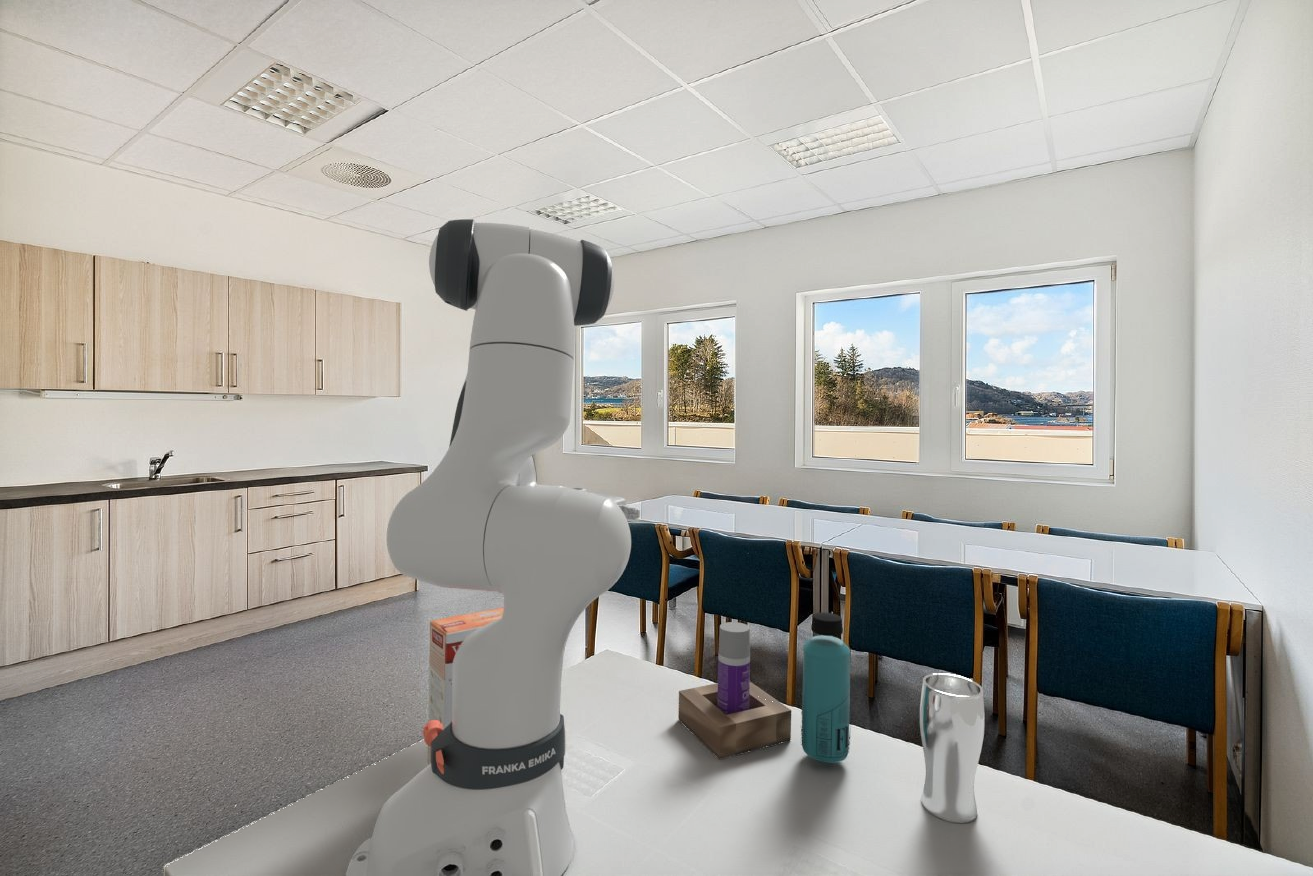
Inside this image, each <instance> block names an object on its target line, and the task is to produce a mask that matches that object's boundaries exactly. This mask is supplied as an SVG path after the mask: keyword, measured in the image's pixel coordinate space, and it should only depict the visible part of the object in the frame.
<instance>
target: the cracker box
mask: <svg viewBox="0 0 1313 876" xmlns="http://www.w3.org/2000/svg"><path fill="white" fill-rule="evenodd" d="M503 610H504V606H502V607H498V608H492V609H487V610H482V611H476V612H470V613H466V614H460V615H454V616H449V617H444V618H438V619H434V620H431V621H429V663H428V664H429V665H428V666H429V668H428V670H429V671H428V672H429V673H428V678H429V679H428V722H429V721H432V720H438V721H440V723H442V726H443V730H444V729H445V728H446V727H447V726H448V725H449V724H450V723H451V722H452V664H453V660H454V657H455V654H456V652H457V650H458V648H459V646H460V645H461V643H462V642H463V641H464V640H465V638H466V637H467V636H469V635H470V634H471V633H472V632H474V631H476V630H477V629H479V628H481V627H483V626H484V625H486V624H488V623H491V622H493V621H495V620H497V619H500V618H502V615H503ZM427 746H428V747H427V766H428V765H429V764H430V763H431V746H429V745H427Z"/></svg>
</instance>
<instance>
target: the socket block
mask: <svg viewBox="0 0 1313 876" xmlns="http://www.w3.org/2000/svg"><path fill="white" fill-rule="evenodd" d="M758 696H759V697H758ZM765 699H766V700H765ZM772 701H773V702H772ZM717 702H718V682H717V683H716V682H715V683H713V684H712V683H711V684H708V685H707V684H706V685H703V686H702V685H701V686H698V687H693V688H686V689H683V690H678V719H679V720H680V721H679V720H678V719H677V720H678V721H679V722H680V723H681V724H682V723H683V724H684V725H685V726H686V727H685V726H684V725H683V724H682V725H683V726H684V727H685V728H686V729H687V728H688V729H689V730H688V729H687V730H688V731H689V732H690V733H691V732H692V733H693V734H692V733H691V734H692V735H693V737H695V738H696V739H698V740H699V742H701V743H702V744H703V746H705V747H706V749H708V750H709V751H710V753H711V754H713V755H714V756H715V757H716V758H717V760H720V761H721V760H724V759H728V758H731V757H732V758H733V757H735V756H738V755H739V756H740V755H742V753H743V754H746V752H747V753H749V752H748V751H751V752H754V751H757V749H758V750H761V749H760V748H762V749H764V748H763V747H766V746H770V747H773V746H776V745H775V744H777V745H780V744H779V743H781V742H785V743H788V742H791V741H790V740H792V737H791V736H792V710H791V708H789V707H787V706H786V705H784V704H783V703H782V702H780V701H779V700H777V699H776V698H775V697H773V696H772V695H770V694H769V693H767V692H766V691H764V690H763V689H761V688H760V687H759V686H757V685H755V683H753V682H751V681H750V687H749V710H745V711H741V712H737V713H732V714H728V715H726V714H724V713H723V712H722V711H721V710H720V709H718V708H717ZM781 744H782V743H781ZM772 745H773V746H772ZM766 748H767V747H766Z"/></svg>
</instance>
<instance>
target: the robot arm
mask: <svg viewBox="0 0 1313 876" xmlns="http://www.w3.org/2000/svg"><path fill="white" fill-rule="evenodd" d="M428 256H429V257H428V266H429V273H430V278H431V281H432V283H433V285H434V291H435V294H437V296H439V298H440V299H441V300H442V301H443V302H444V303H446V304H447V305H450V306H452V307H455V308H457V309H461V311H462V310H463V311H465V312H468V310H469V309H471V310H472V309H473V310H475V311H474V316H473V321H472V328H471V333H470V342H469V350H468V351H469V353H468V363H467V373H466V376H465V379H464V382H463V385H462V388H461V390H460V393H459V394H460V395H459V398H458V400H457V405H456V409H455V413H454V418H453V423H452V430H451V436H450V439H449V440H450V441H449V447H448V449H447V451H446V453H445V454H444V456H443V458H442V459H441V461H440V462H439V463H438V465H437V466H436V468H435V469H434V470H433V472H431V473H430V475H429V476H428V477H427V478H426V479H424V480H423V481H422V482H421V483H420V484H418V486H416V487H415V488H413V489H411V490H410V491H409V492H407V493H406V494H405V495H404V496H403V497H402V498H401V499H400V500H399V501H398V503H397V504H396V505H395V507H394V509H393V511H392V512H391V514H390V517H389V521H388V523H387V528H386V548H387V551H388V554H389V558H390V561H391V562H392V564H393V566H394V567H395V569H396V570H397V572H399V573H400V574H402V575H403V576H406V577H408V578H411V579H414V580H417V581H419V582H423V583H426V584H429V585H433V586H436V587H440V588H447V589H458V590H459V589H460V590H471V591H485V592H497V593H499V594H502V595H503V600H504V601H503V607H504V610H503V615H502V618H500V619H497V620H495V621H493V622H491V623H488V624H486V625H484V626H483V627H481V628H479V629H477V630H476V631H474V632H472V633H471V634H470V635H469V636H467V637H466V638H465V640H464V641H463V642H462V643H461V645H460V646H459V648H458V650H457V652H456V654H455V657H454V660H453V664H452V722H451V723H450V724H449V725H448V726H447V727H446V728H445V729H444V730H443V726H442V723H440V721H438V720H432V721H429V720H428V722H426V723H425V725H424V726H423V729H422V735H423V739H424V743H425V744H426V745H427V746H428V745H429V746H431V763H430V764H429V765H428V764H427V765H426V767H424V768H423V769H421V771H420V772H418V773H417V774H416V775H415V776H414V777H413V778H411V779H410V780H408V782H407V783H405V784H404V785H403V786H402V787H400V788H399V789H398V790H397V791H395V792H394V793H393V794H392V795H391V796H389V798H388V799H387V800H386V801H385V802H384V804H383V805H382V807H381V809H380V811H379V813H378V815H377V818H376V821H375V825H374V828H373V832H372V835H371V837H369V838H367V839H365V840H364V841H363V842H362V843H361V844H360V845H359V846H358V848H357V849H356V850H355V852H354V853H353V855H352V857H351V858H350V861H349V862H348V863H349V864H348V865H347V868H346V872H345V876H562V875H563V874H564V872H565V871H566V870H567V868H568V867H569V865H570V863H571V861H572V860H573V859H572V858H573V856H574V852H575V838H574V834H573V831H572V829H571V825H570V822H569V817H568V813H567V807H566V801H565V794H564V783H563V774H562V772H563V771H562V770H563V769H564V767H565V766H564V765H565V756H566V727H565V726H566V725H565V717H564V715H563V714H561V694H562V679H563V678H562V677H563V675H562V674H563V664H564V655H565V649H566V645H567V641H568V640H569V636H570V633H571V631H572V629H573V628H574V626H575V624H576V622H577V620H578V619H579V617H580V616H581V615H582V613H583V612H584V611H585V610H586V609H587V608H588V606H589V605H590V604H592V602H594V601H595V600H596V599H597V598H599V597H600V596H602V595H603V594H604V593H607V591H609V590H610V589H612V587H613V586H614V585H615V584H616V583H617V582H618V581H619V579H620V578H621V577H622V575H623V573H624V571H625V570H626V567H627V565H628V562H629V559H630V554H631V550H632V533H631V529H630V525H629V522H628V520H631V521H632V520H633V521H634V520H635V521H636V520H637V519H640V517H641V510H640V508H639V507H631V506H628V505H627V500H626V498H624V497H621V496H618V495H617V496H616V495H611V494H610V495H609V494H605V493H598V492H589V491H587V489H586V488H580V487H578V488H577V487H573V488H572V487H568V486H564V485H563V486H562V485H552V484H551V485H550V484H549V485H548V484H538V483H537V480H538V475H537V474H538V473H537V468H536V463H535V459H534V455H535V454H537V453H539V452H542V451H543V450H546V449H548V448H550V447H552V446H553V445H554V444H556V443H557V442H558V441H560V439H561V438H562V437H563V436H564V434H565V433H566V431H567V429H568V427H569V425H570V423H571V409H572V394H573V381H574V364H575V345H576V344H575V327H577V326H579V327H580V326H587V325H592V324H596V323H597V322H598V321H600V320H601V319H602V318H603V317H604V316H605V314H606V312H607V309H608V307H609V306H610V304H611V301H612V298H613V296H614V290H615V274H614V271H613V265H612V259H611V257H610V256H609V254H608V252H607V251H606V249H605V248H604V247H601V246H600V245H598V244H595V243H593V242H590V241H589V240H588V241H587V240H584V239H580V241H578V240H575V239H572V238H570V237H566V236H562V235H560V234H559V235H558V234H554V233H550V232H547V231H542V230H537V229H533V228H530V227H529V226H522V225H518V224H507V223H495V222H476V221H475V219H473V218H471V219H469V218H467V219H460V218H459V219H451V220H448V221H447V222H445V223H444V224H443V225H441V227H440V228H438V234H437V235H436V237H435V238H434V240H433V242H432V245H431V248H430V252H429V255H428Z"/></svg>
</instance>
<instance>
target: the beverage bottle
mask: <svg viewBox="0 0 1313 876" xmlns="http://www.w3.org/2000/svg"><path fill="white" fill-rule="evenodd" d="M810 625H811V626H810V629H811V632H813V633H815V634H817V635H815V636H813V637H811V638H810V639H808V640H807V641H806V642H805V643H803V646H802V647H803V648H802V651H803V653H802V654H803V658H802V659H803V662H802V666H803V667H802V693H801V694H802V695H801V697H802V698H801V710H800V711H801V712H800V715H801V717H800V718H801V725H800V739H801V743H800V745H801V747H802V750H803V751H804V753H805V755H807V756H808V757H810V758H811V759H814V760H816V761H819V762H824V763H840V762H842V761H845V760H846V759H847V757H848V756H849V753H850V750H851V749H850V748H851V745H850V744H851V735H850V725H851V721H850V719H851V714H852V713H851V709H852V708H851V702H850V701H851V699H850V696H851V695H850V694H851V691H852V688H851V655H852V653H851V649H850V647H849V646H848V645H847V644H846V643H845V642H844V641H843V640H842V639H840V638H838V637H839V636H841V635H842V634H843V633H844V630H843V629H844V628H843V618H842V617H841V616H840V615H838V614H835V613H832V612H817V613H814V614H813V615H812V619H811V624H810ZM837 636H838V637H837Z"/></svg>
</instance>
